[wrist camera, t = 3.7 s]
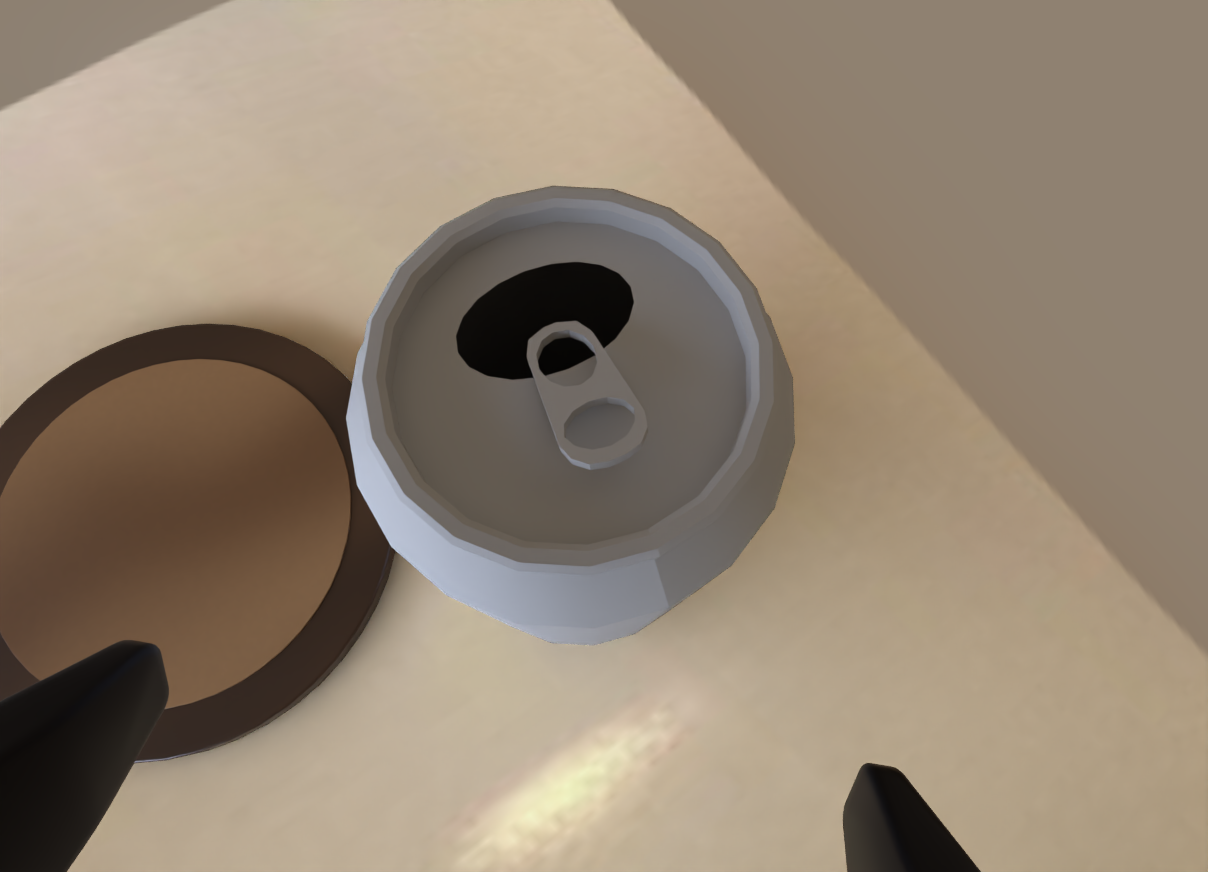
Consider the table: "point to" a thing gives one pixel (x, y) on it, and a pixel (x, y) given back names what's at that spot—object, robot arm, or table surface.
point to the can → (570, 411)
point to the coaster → (189, 526)
